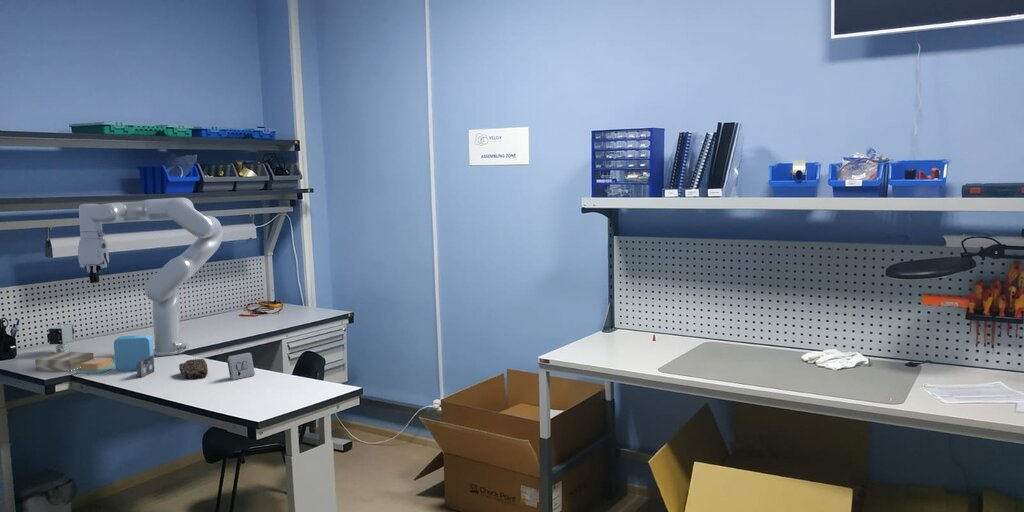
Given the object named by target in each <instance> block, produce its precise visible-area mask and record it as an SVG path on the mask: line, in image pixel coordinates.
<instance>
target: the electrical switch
mask: <svg viewBox="0 0 1024 512" xmlns="http://www.w3.org/2000/svg"><path fill="white" fill-rule="evenodd" d="M252 356H253V355H252V353H251V352H246V353H239V354H236V355H235V354H234V355H229V356H228V357H227V359H226V363H227V367H228V374H229V378H230V379H231V380H232V381H235V380H240V379H245V378H249V377H254V376H255V374H256V373H255V367H254V366H255V365H254V361H253V357H252Z"/></svg>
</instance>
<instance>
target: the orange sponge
mask: <svg viewBox="0 0 1024 512" xmlns="http://www.w3.org/2000/svg"><path fill="white" fill-rule="evenodd" d="M113 362H114V361H113V357H95V358H94V359H92V360H89V361H86V362H84V363H81V364H80V365H81V370H94V371H96V370H99V369H102V368H104V367H107V366H110V365H112V364H113Z"/></svg>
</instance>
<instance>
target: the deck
mask: <svg viewBox="0 0 1024 512" xmlns="http://www.w3.org/2000/svg"><path fill="white" fill-rule="evenodd" d="M94 357H95V356H94V352H81V351H77V352H76V351H69V352H57V353H56V352H54V353H50V354H48V355H45V356H42V357H38V358H35V359H34V362H35V363H34V364H35V365H34V366H35V371H45V370H48V371H49V372H50V371H52V372H70V371H71V370H74V369H77V368H80V367H81V365H80V364H81V363H84V362H86V361H89V360H92V359H95V358H94ZM61 370H62V371H61ZM64 370H65V371H64ZM67 370H69V371H67Z"/></svg>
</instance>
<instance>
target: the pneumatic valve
mask: <svg viewBox="0 0 1024 512" xmlns="http://www.w3.org/2000/svg"><path fill="white" fill-rule="evenodd" d="M47 330H48V333H47V334H46V336H47V343H49V345H55V353H57V352H70V350H69V347H70V346H69V344H68V342H70V341H73V340H74V338H75V337H74V334H75V329H74V325H73V323H71V324H70V323H69V324H68V323H67V324H63V323H59V324H58V325H56V326H52V327H50V328H48V329H47Z"/></svg>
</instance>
